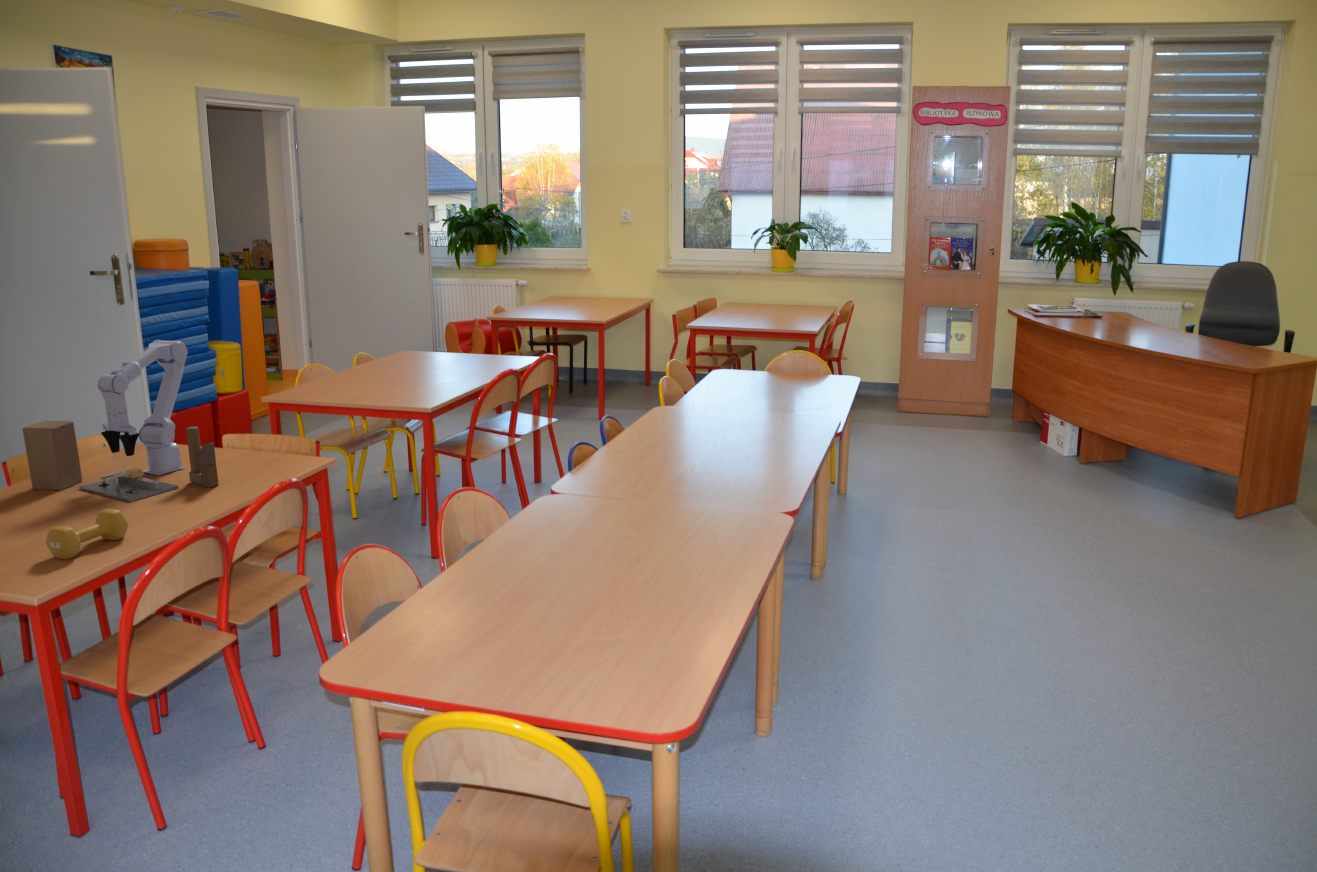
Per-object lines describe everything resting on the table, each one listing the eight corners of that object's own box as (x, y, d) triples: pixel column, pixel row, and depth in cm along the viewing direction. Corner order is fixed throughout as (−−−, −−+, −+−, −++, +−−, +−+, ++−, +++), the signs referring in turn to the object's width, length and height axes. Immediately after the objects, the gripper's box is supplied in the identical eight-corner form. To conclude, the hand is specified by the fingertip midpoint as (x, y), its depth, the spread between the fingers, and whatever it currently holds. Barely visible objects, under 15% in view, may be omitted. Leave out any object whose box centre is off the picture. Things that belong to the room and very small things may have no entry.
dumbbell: (108, 534, 264) (104, 505, 262) (133, 538, 261) (129, 509, 259) (44, 558, 247) (39, 528, 245) (70, 562, 244) (65, 532, 241)
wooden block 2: (208, 488, 304) (201, 432, 299) (189, 482, 310) (182, 428, 305) (219, 485, 307) (212, 430, 302) (200, 479, 312) (193, 425, 308)
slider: (137, 479, 308) (135, 467, 307) (143, 481, 306) (141, 469, 305) (112, 486, 301) (111, 474, 300) (118, 487, 300) (116, 475, 299)
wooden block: (83, 481, 311) (74, 420, 306) (61, 490, 301) (51, 428, 296) (54, 480, 312) (44, 420, 307) (31, 489, 302) (21, 427, 297)
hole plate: (128, 476, 316) (126, 466, 315) (178, 488, 304) (177, 477, 303) (79, 489, 303) (77, 478, 302) (129, 502, 290) (128, 490, 289)
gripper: (90, 412, 302) (97, 453, 306) (118, 417, 295) (124, 460, 299) (112, 407, 308) (118, 448, 312) (140, 412, 301) (146, 454, 305)
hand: (122, 453), depth 306 cm, fingers open, 7 cm apart
